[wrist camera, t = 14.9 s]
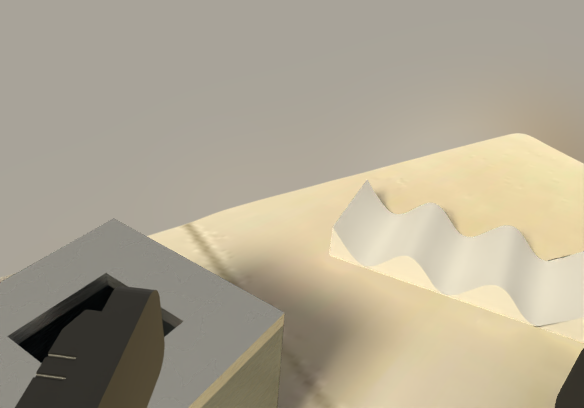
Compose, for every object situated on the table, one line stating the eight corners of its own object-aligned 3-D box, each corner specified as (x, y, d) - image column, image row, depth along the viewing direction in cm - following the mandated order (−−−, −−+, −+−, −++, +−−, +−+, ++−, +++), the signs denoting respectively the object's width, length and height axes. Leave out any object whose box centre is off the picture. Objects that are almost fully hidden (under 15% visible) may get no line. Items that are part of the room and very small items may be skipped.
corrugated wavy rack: (627, 363, 59) (647, 329, 56) (328, 259, 71) (332, 226, 68) (623, 290, 69) (640, 258, 67) (362, 209, 81) (367, 179, 78)
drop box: (132, 345, 56) (113, 218, 47) (274, 443, 48) (284, 312, 39) (-44, 484, 43) (-115, 346, 35) (109, 648, 36) (69, 523, 27)
